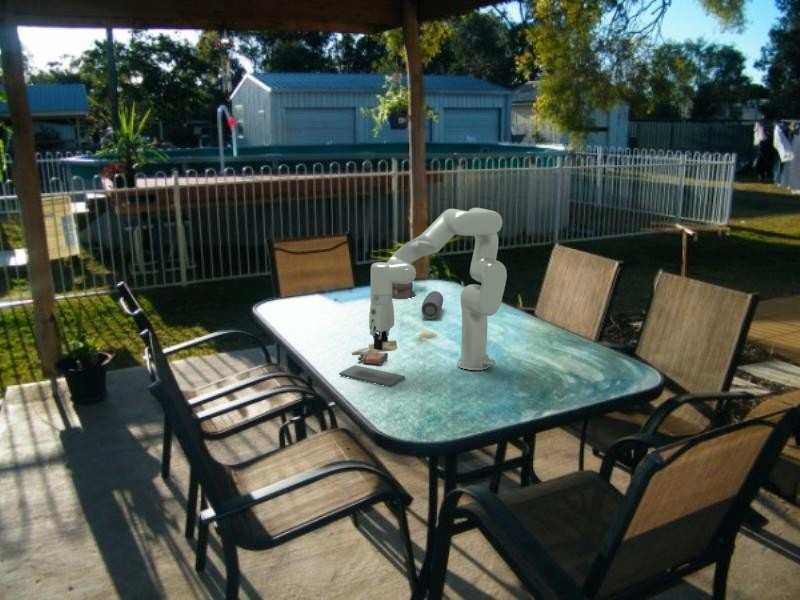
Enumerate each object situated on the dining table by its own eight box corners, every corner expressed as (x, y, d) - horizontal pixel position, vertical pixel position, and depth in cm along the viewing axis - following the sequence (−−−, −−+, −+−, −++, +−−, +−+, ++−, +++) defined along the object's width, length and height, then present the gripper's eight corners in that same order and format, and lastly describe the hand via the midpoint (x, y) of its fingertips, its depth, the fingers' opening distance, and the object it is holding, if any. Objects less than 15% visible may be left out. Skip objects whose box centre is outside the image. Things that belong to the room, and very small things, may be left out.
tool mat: (405, 379, 242) (405, 375, 241) (390, 387, 233) (390, 384, 233) (354, 368, 253) (354, 365, 252) (339, 375, 244) (339, 372, 244)
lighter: (387, 359, 262) (364, 356, 265) (387, 351, 261) (363, 348, 264) (380, 366, 255) (356, 364, 258) (380, 358, 254) (356, 355, 257)
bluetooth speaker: (439, 321, 316) (440, 301, 313) (420, 320, 317) (420, 300, 315) (444, 309, 338) (444, 290, 335) (425, 308, 339) (426, 289, 337)
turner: (399, 347, 237) (398, 339, 237) (390, 351, 232) (389, 343, 232) (361, 351, 247) (359, 343, 246) (352, 355, 242) (350, 347, 241)
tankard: (413, 291, 375) (413, 256, 370) (419, 298, 359) (419, 262, 354) (371, 293, 371) (371, 257, 366) (376, 300, 355) (376, 263, 350)
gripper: (377, 304, 225) (377, 356, 229) (402, 294, 239) (401, 344, 243) (359, 301, 229) (359, 352, 233) (384, 292, 242) (384, 340, 247)
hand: (380, 347), depth 238 cm, fingers closed on turner, 3 cm apart
